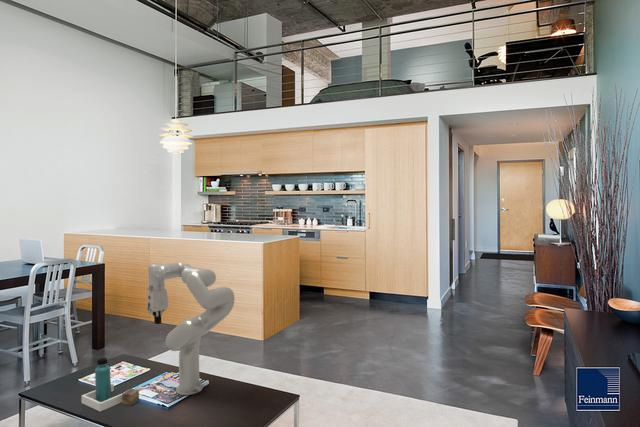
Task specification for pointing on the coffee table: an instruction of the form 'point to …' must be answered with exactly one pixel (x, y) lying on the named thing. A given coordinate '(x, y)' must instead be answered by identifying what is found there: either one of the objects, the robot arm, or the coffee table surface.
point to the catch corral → (100, 406)
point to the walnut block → (130, 397)
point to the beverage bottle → (102, 380)
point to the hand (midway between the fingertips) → (157, 323)
